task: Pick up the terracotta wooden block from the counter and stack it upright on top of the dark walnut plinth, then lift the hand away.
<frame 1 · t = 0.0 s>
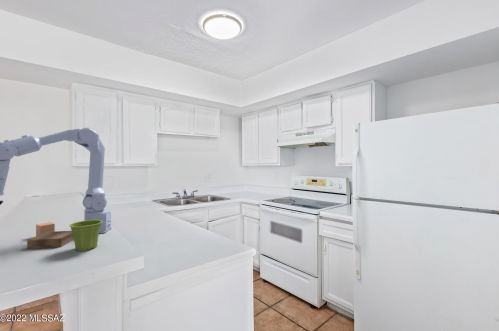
walnut plinth: (53, 243, 85), on the table
plant pot: (86, 248, 80), on the table
terracotta block: (45, 236, 93), on the table
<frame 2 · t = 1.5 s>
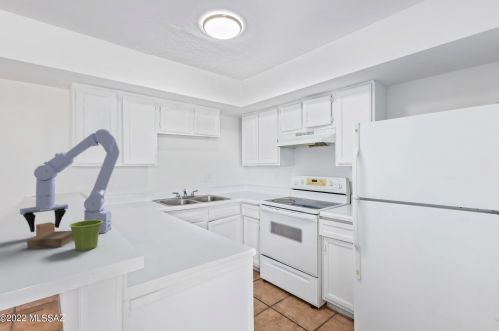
hand: (45, 229, 93), 3 cm above the table, tool pointing down, fingers open, 7 cm apart
nothing on the table moved.
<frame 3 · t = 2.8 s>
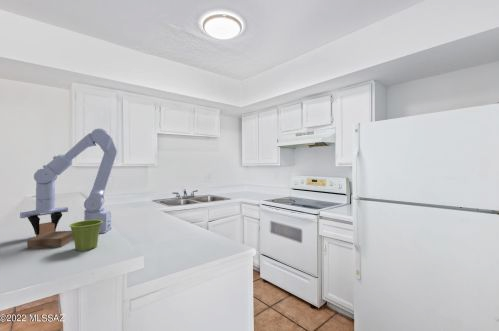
hand: (45, 232, 93), 1 cm above the table, tool pointing down, fingers closed on terracotta block, 4 cm apart
terracotta block: (45, 236, 93), on the table, touching gripper
everything else where it was.
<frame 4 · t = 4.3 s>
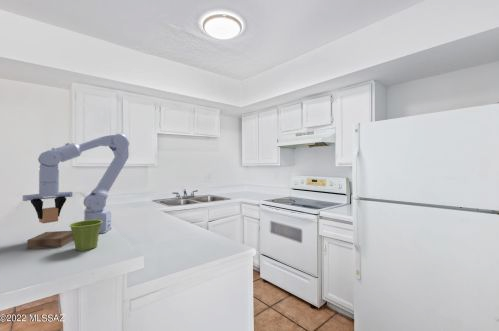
hand: (48, 217, 89), 8 cm above the table, tool pointing down, fingers closed on terracotta block, 4 cm apart
terracotta block: (48, 221, 89), point 7 cm above the table, touching gripper
everything else where it was.
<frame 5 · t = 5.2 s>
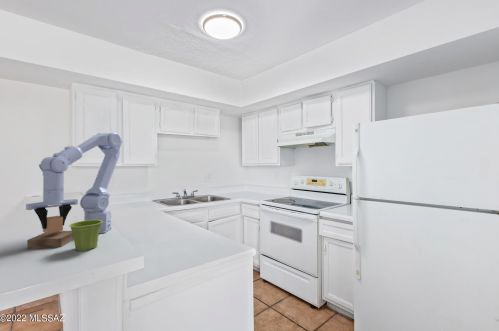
hand: (53, 226, 85), 6 cm above the table, tool pointing down, fingers closed on terracotta block, 4 cm apart
terracotta block: (52, 231, 85), point 4 cm above the table, touching gripper
everything else where it was.
when the fingers open (6 cm above the table, at t = 6.0 s): terracotta block drops 1 cm, resting on walnut plinth.
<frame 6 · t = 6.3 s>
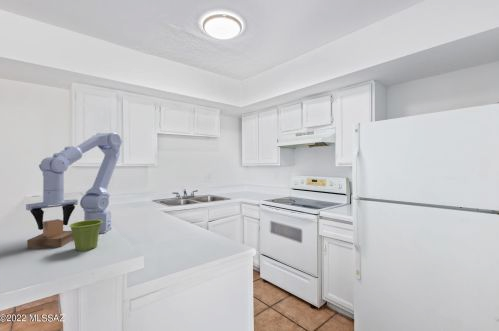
hand: (53, 227, 85), 6 cm above the table, tool pointing down, fingers open, 7 cm apart
terracotta block: (53, 234, 85), point 3 cm above the table, touching walnut plinth
everything else where it was.
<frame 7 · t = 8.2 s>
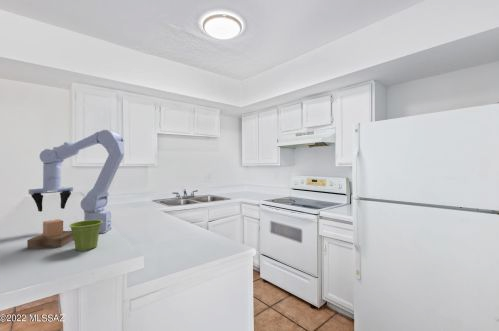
hand: (51, 209, 99), 9 cm above the table, tool pointing down, fingers open, 7 cm apart
nothing on the table moved.
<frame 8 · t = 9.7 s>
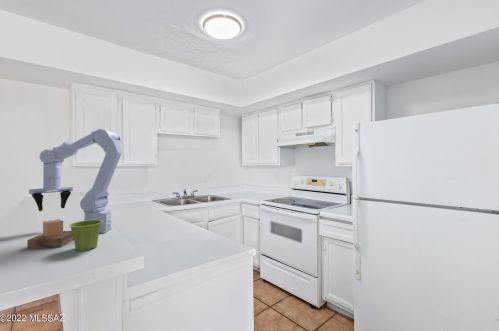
hand: (51, 209, 100), 9 cm above the table, tool pointing down, fingers open, 7 cm apart
nothing on the table moved.
at the end: terracotta block 0.4 cm off-centre on the walnut plinth, point 3.0 cm above the walnut plinth's base; terracotta block tilted 0°; the gripper is holding nothing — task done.
